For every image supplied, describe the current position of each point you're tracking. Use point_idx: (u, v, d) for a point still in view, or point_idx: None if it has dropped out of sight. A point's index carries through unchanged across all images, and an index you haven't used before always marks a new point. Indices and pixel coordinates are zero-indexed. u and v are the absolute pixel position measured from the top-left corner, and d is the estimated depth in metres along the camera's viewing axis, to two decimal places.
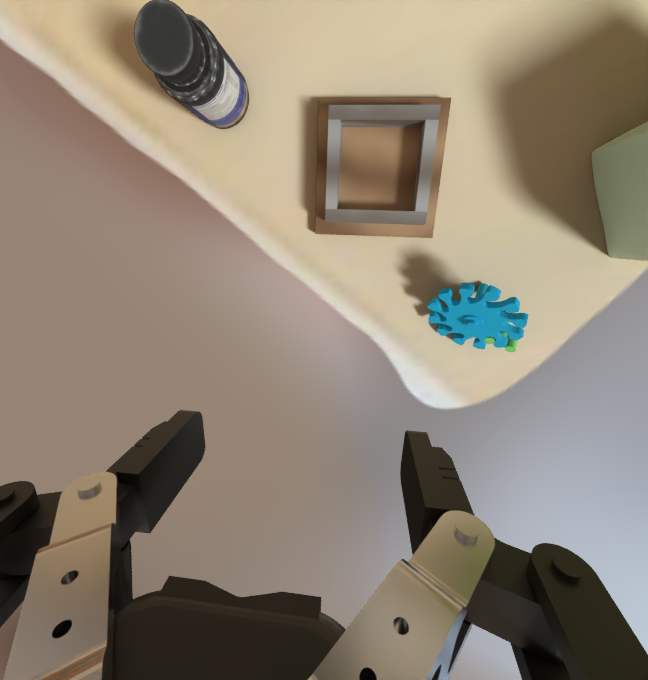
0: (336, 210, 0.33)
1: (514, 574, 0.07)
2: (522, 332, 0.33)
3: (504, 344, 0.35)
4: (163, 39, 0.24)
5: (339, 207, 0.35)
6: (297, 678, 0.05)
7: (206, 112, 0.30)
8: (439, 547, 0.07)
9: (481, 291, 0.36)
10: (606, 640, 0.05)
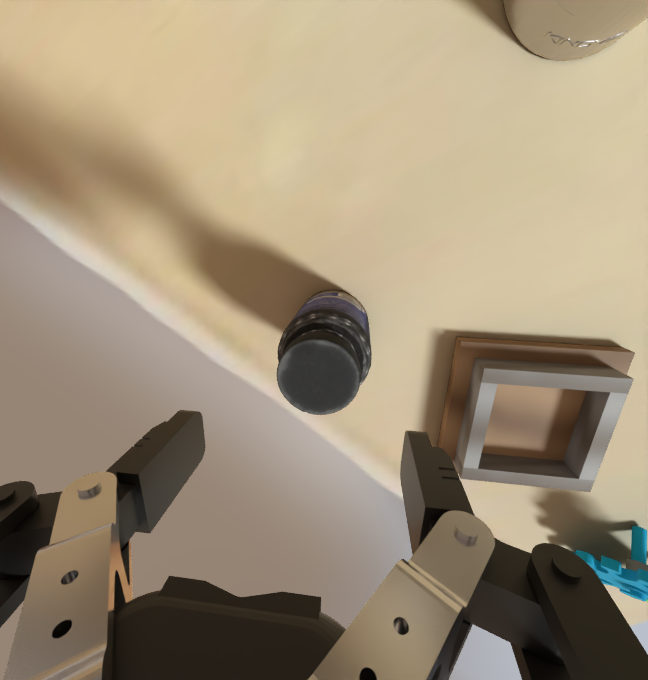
0: (477, 470, 0.27)
1: (514, 574, 0.07)
2: None
3: None
4: (317, 379, 0.18)
5: None
6: (297, 678, 0.05)
7: None
8: (439, 547, 0.07)
9: (641, 542, 0.30)
10: (606, 640, 0.05)
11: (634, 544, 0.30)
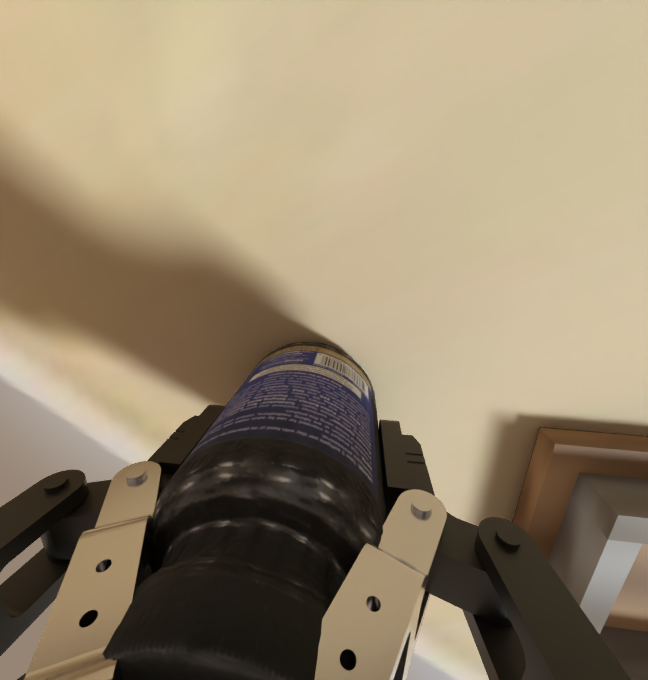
0: None
1: (463, 545, 0.08)
2: None
3: None
4: None
5: None
6: None
7: None
8: (394, 520, 0.08)
9: None
10: (545, 597, 0.06)
11: None
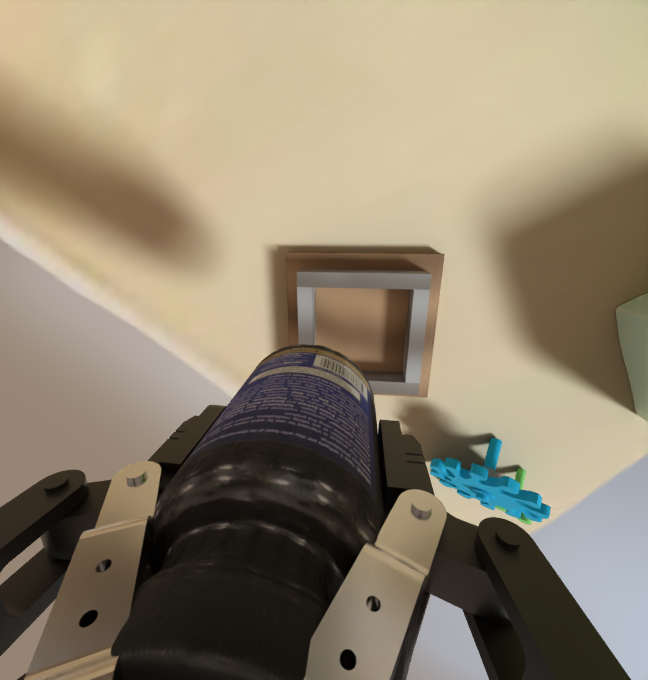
0: None
1: (463, 545, 0.08)
2: (541, 516, 0.28)
3: (517, 516, 0.30)
4: None
5: None
6: None
7: None
8: (394, 520, 0.08)
9: (493, 451, 0.31)
10: (545, 597, 0.06)
11: (487, 453, 0.31)
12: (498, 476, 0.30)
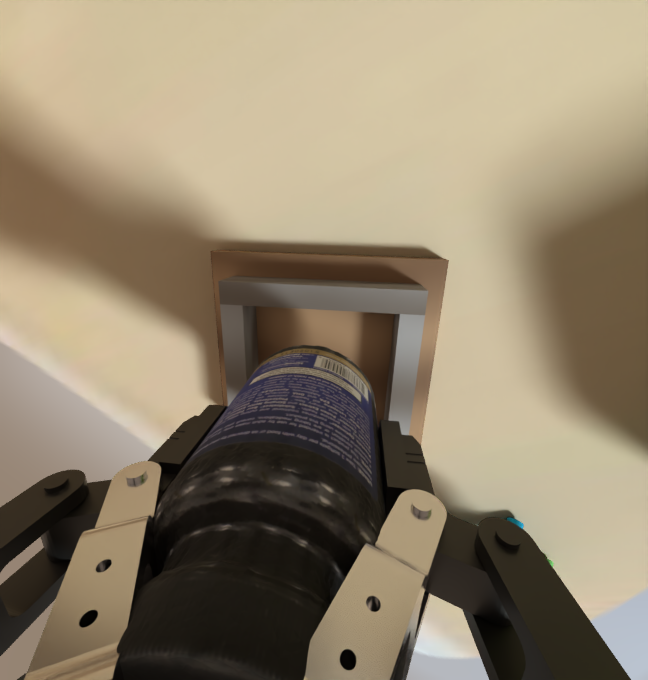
0: None
1: (463, 545, 0.08)
2: None
3: None
4: None
5: None
6: None
7: None
8: (394, 520, 0.08)
9: None
10: (545, 598, 0.06)
11: None
12: None
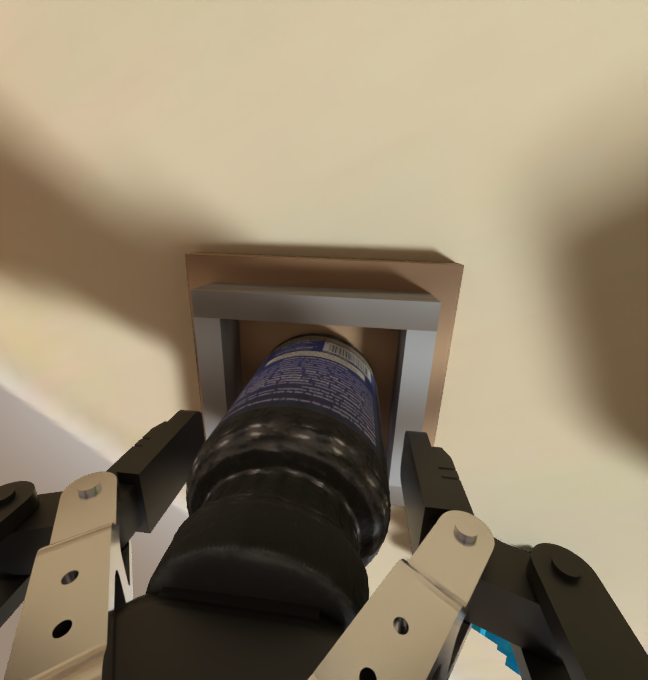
0: None
1: (514, 574, 0.07)
2: None
3: None
4: None
5: None
6: (297, 678, 0.05)
7: None
8: (439, 547, 0.07)
9: None
10: (606, 640, 0.05)
11: None
12: None
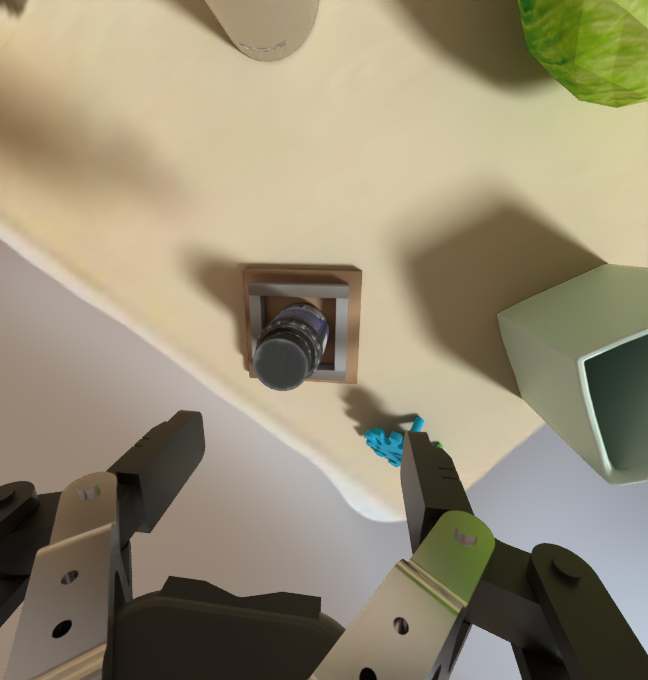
0: None
1: (514, 574, 0.07)
2: None
3: None
4: (280, 366, 0.26)
5: None
6: (297, 678, 0.05)
7: None
8: (439, 547, 0.07)
9: (416, 426, 0.38)
10: (606, 640, 0.05)
11: (411, 428, 0.38)
12: None
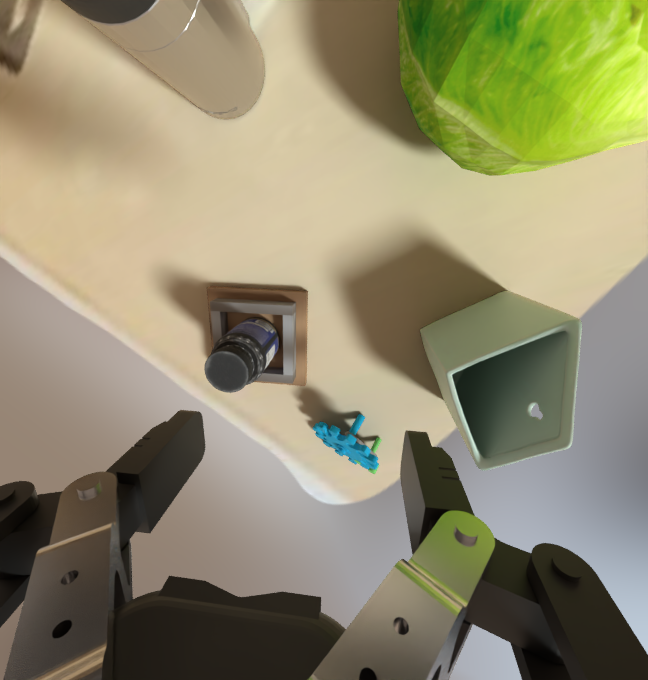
0: None
1: (514, 574, 0.07)
2: (376, 465, 0.42)
3: (367, 468, 0.44)
4: (226, 372, 0.32)
5: None
6: (297, 678, 0.05)
7: None
8: (439, 547, 0.07)
9: (357, 422, 0.45)
10: (606, 640, 0.05)
11: (353, 423, 0.45)
12: (355, 438, 0.44)
